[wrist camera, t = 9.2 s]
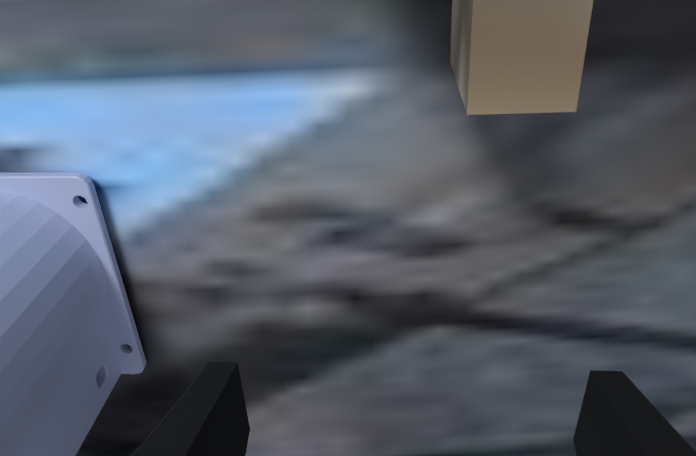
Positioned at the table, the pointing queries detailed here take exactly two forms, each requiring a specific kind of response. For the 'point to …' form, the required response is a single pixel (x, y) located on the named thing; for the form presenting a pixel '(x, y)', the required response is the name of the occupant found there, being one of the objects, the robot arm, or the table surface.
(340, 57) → the table surface
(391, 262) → the table surface
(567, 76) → the push stick
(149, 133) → the table surface
